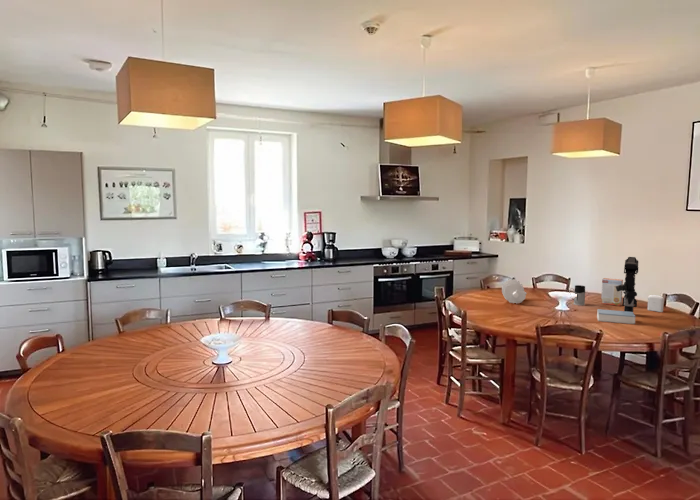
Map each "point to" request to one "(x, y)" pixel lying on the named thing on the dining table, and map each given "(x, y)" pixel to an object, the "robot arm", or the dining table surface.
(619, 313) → the box lid
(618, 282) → the cracker box
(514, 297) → the white rounded lump
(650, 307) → the photo printer
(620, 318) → the storage box
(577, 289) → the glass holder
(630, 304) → the block
